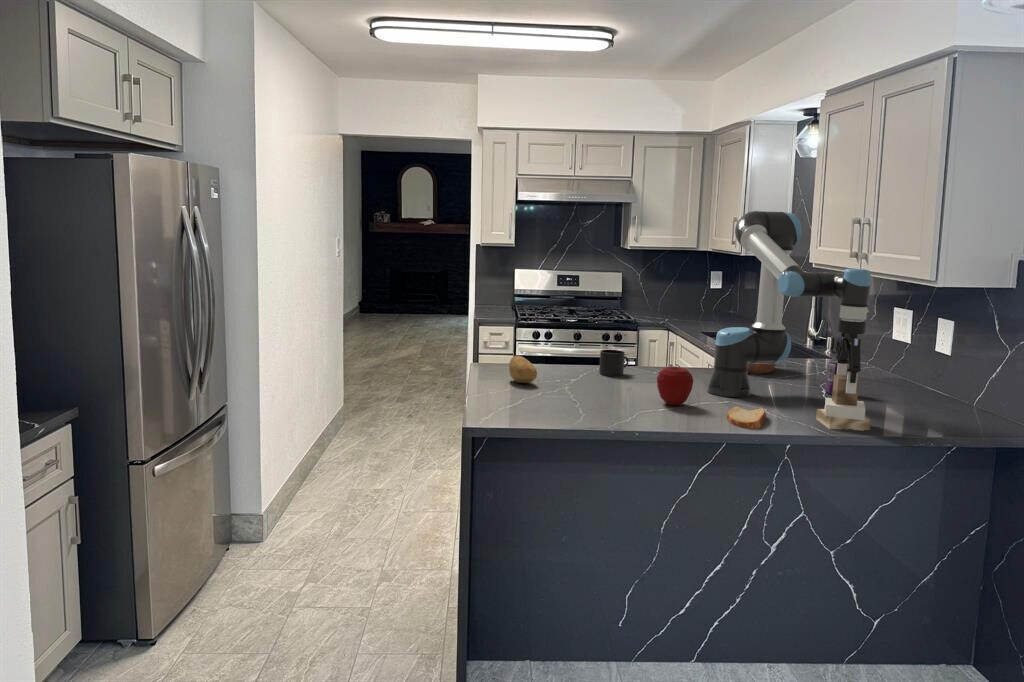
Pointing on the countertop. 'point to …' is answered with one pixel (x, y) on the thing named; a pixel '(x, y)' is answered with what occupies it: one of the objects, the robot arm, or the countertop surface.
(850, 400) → the walnut block
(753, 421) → the slice of bread
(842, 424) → the tower base
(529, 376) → the potato
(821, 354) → the countertop surface
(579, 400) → the countertop surface
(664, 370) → the apple
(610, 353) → the mug
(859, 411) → the tower top
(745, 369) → the robot arm
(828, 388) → the beverage can
